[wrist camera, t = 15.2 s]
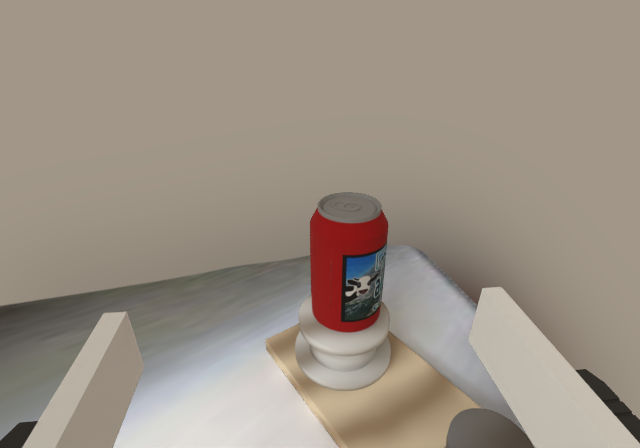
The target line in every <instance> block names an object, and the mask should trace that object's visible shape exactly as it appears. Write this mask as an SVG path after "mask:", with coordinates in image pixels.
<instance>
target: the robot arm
mask: <svg viewBox="0 0 640 448" xmlns="http://www.w3.org/2000/svg"><path fill="white" fill-rule="evenodd" d="M468 341H469V342H470V344H471V346H472V347H473V349H474V350H475V352H476V354H477V355H478V357H479V358H480V360H481V362H482V363H483V365H484V366H485V368H486V370H487V371H488V373H489V374H490V376H491V378H492V379H493V381H494V382H495V384H496V386H497V387H498V389H499V390H500V392H501V394H502V395H503V397H504V398H505V400H506V402H507V403H508V405H509V406H510V408H511V410H512V411H513V413H514V414H515V416H516V418H517V419H518V421H519V422H520V424H521V426H522V427H523V429H524V430H525V432H526V434H527V435H528V437H529V438H530V440H531V442H532V443H533V445H534V446H535V448H640V420H639V419H638V418H637V417H636V416H635V415H633V414H632V411H631V410H630V409H629V408H628V407H627V406H626V405H625V404H624V403H623V402H621V401H620V400H619V398H618V396H617V395H615V393H614V392H613V391H612V390H611V389H610V388H609V387H608V386H607V385H606V384H605V383H604V382H603V381H601V380H600V379H598V378H597V377H596V376H594V375H593V374H592V373H590V372H589V371H587V370H586V369H583V370H574V369H573V368H572V366H571V365H570V364H569V363H568V362H567V361H566V360H565V358H564V357H563V356H562V355H561V354H560V353H559V352H558V351H557V349H556V348H555V347H554V346H553V345H552V344H551V343H550V341H549V340H548V339H547V338H546V337H545V336H544V335H543V334H542V333H541V331H540V330H539V329H538V328H537V327H536V326H535V325H534V323H533V322H532V321H531V320H530V319H529V318H528V317H527V316H526V314H525V313H524V312H523V311H522V310H521V309H520V308H519V306H518V305H517V304H516V303H515V302H514V301H513V300H512V299H511V297H510V296H509V295H508V294H507V293H506V292H505V291H504V289H502V287H494V288H483V289H482V292H481V296H480V299H479V303H478V307H477V310H476V314H475V317H474V321H473V325H472V328H471V332H470V335H469V339H468ZM143 369H144V364H143V361H142V358H141V354H140V351H139V348H138V345H137V342H136V339H135V336H134V333H133V330H132V326H131V323H130V320H129V317H128V314H127V312H115V313H104V314H103V315H102V317H101V319H100V320H99V322H98V323H97V325H96V327H95V328H94V330H93V332H92V333H91V335H90V337H89V338H88V340H87V342H86V343H85V345H84V347H83V348H82V350H81V351H80V353H79V355H78V356H77V358H76V360H75V361H74V363H73V365H72V366H71V368H70V370H69V371H68V373H67V375H66V376H65V378H64V380H63V381H62V383H61V384H60V386H59V388H58V389H57V391H56V393H55V394H54V396H53V398H52V399H51V401H50V403H49V404H48V406H47V408H46V409H45V411H44V412H43V414H42V416H41V417H40V419H39V421H33V422H23V423H19V424H18V425H16V426H15V427H14V428H13V429H12V430H11V431H10V432H9V433H8V434H7V435H6V436H5V437H4V438H3V439H2V440H1V441H0V448H113V446H114V443H115V440H116V438H117V435H118V433H119V430H120V428H121V425H122V422H123V420H124V417H125V415H126V412H127V410H128V407H129V405H130V402H131V399H132V397H133V394H134V392H135V389H136V387H137V384H138V381H139V379H140V376H141V374H142V371H143Z"/></svg>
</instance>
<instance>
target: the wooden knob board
mask: <svg viewBox="0 0 640 448" xmlns="http://www.w3.org/2000/svg"><path fill="white" fill-rule="evenodd" d="M389 321H390V317H389V312H388V310H387V308H386V306H385V305H384V303H383V302H382V301H381V307H380V315H379V317H378V319H377V321H376V322H375V323H374V324H373V325H372V326H370V327H369V328H367V329H364V330H362V331H358V332H350V333H346V332H338V331H334V330H331V329H328V328H326V327H325V326H323V325H322V324H320V323H319V322H318V321H317V320H316V318H315V317H314V315H313V312H312V295H310V296H309V297H307V298H306V299H305V301H304V302H303V303H302V305H301V307H300V310H299V324H297V325H295V326H293V327H291V328H289V329H287V330H285V331H283V332H281V333H279V334H277V335H275V336H273V337H270V338H268V339H266V349H267V351H268V352H269V354H270V355H271V356H272V358H273V359H274V360H275V362H276V363H277V364H278V366H279V367H280V368H281V370H282V371H283V372H284V374H285V375H286V376H287V378H288V379H289V381H290V382H291V383H292V385H293V386H294V387H295V389H296V390H297V391H298V393H299V394H300V395H301V397H302V398H303V399H304V401H305V402H306V403H307V405H308V406H309V407H310V409H311V410H312V411H313V413H314V414H315V415H316V417H317V418H318V419H319V421H320V422H321V423H322V425H323V426H324V427H325V429H326V430H327V432H328V433H329V434H330V436H331V437H332V438H333V440H334V441H335V442H336V444H337V445H338V446H339V448H534V447H533V445H532V443H531V441H530V440H529V438H528V437H527V436H526V435H525V433H524V432H523V431H522V430H521V429H520V428H519V427H518V426H517V425H516V424H514V423H513V422H512V421H511V420H509V419H508V418H506V417H504V416H502V415H501V414H499V413H496V412H494V411H491V410H487V409H482V408H481V407H480V406H479V405H477V404H476V403H475V402H474V401H473V400H471V399H470V398H469V397H468V396H467V395H465V394H464V393H463V392H462V391H461V390H459V389H458V388H457V387H456V386H454V385H453V384H452V383H451V382H450V381H448V380H447V379H446V378H445V377H444V376H442V375H441V374H440V373H439V372H438V371H436V370H435V369H434V368H433V367H432V366H430V365H429V364H428V363H427V362H426V361H424V360H423V359H422V358H421V357H420V356H418V355H417V354H416V353H415V352H414V351H412V350H411V349H410V348H409V347H408V346H406V345H405V344H404V343H403V342H401V341H400V340H399V339H398V338H397V337H395V336H394V335H393V334H392V333H391V332H389V331H388V330H389Z"/></svg>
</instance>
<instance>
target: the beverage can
mask: <svg viewBox="0 0 640 448" xmlns="http://www.w3.org/2000/svg"><path fill="white" fill-rule="evenodd" d="M387 234H388V222H387V219H386V217H385V215H384V213H383V212H382V209H381V203H380V202H379V201H378V200H377V199H375V198H374V197H371V196H369V195H365V194H361V193H353V192H344V193H335V194H331V195H328V196H325V197H324V198H322V199H321V200H320V201H319V203H318V208H317V209H316V211H315V213H314V214H313V216H312V218H311V221H310V253H311V254H310V256H311V295H312V312H313V315H314V317H315V318H316V320H317V321H318V322H319V323H320V324H322V325H323V326H325V327H326V328H328V329H331V330H334V331H338V332H346V333H350V332H358V331H362V330H364V329H367V328H369V327H370V326H372V325H373V324H374V323H375V322H376V321H377V319H378V317H379V315H380V307H381V298H382V289H383V279H384V269H385V258H386V247H387Z"/></svg>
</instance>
